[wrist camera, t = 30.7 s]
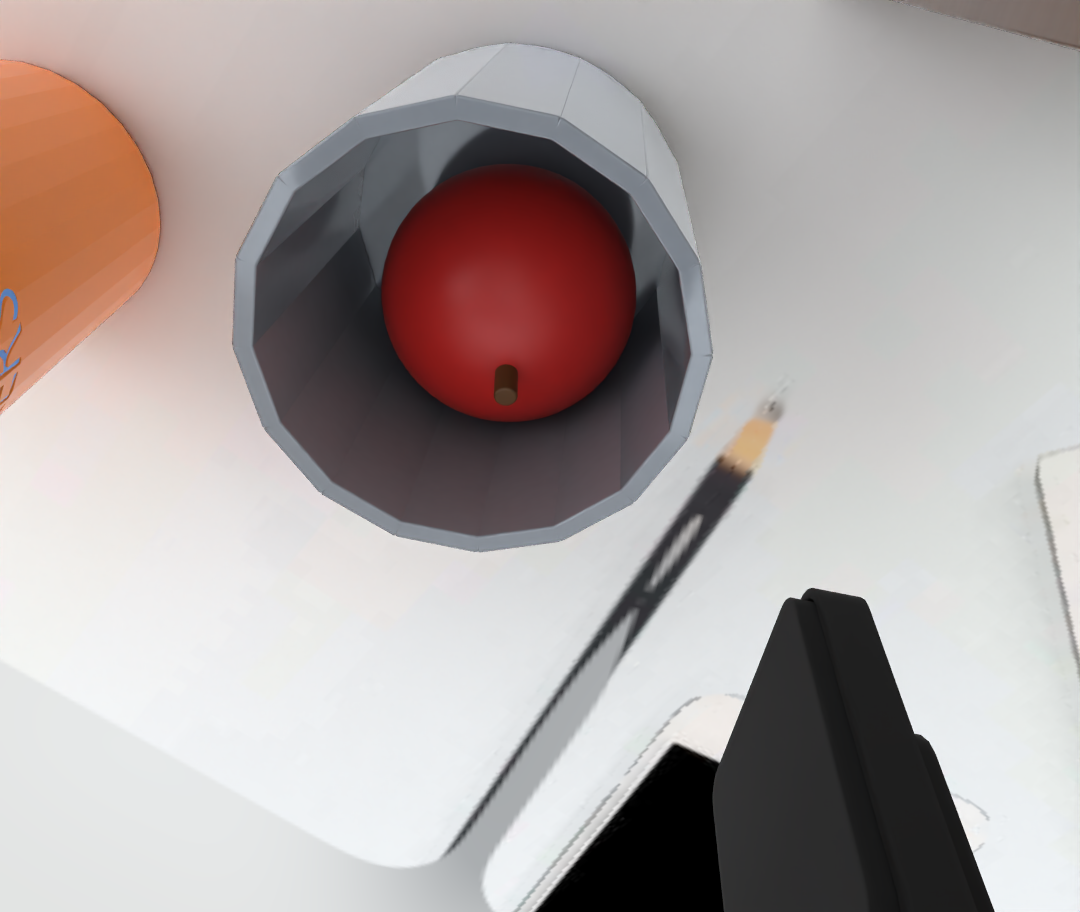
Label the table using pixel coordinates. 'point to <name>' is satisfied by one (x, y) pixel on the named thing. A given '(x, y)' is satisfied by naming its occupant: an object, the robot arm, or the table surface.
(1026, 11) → the crate
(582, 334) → the apple
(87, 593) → the table surface
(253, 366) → the steel cup
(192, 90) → the table surface
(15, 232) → the shaker bottle
